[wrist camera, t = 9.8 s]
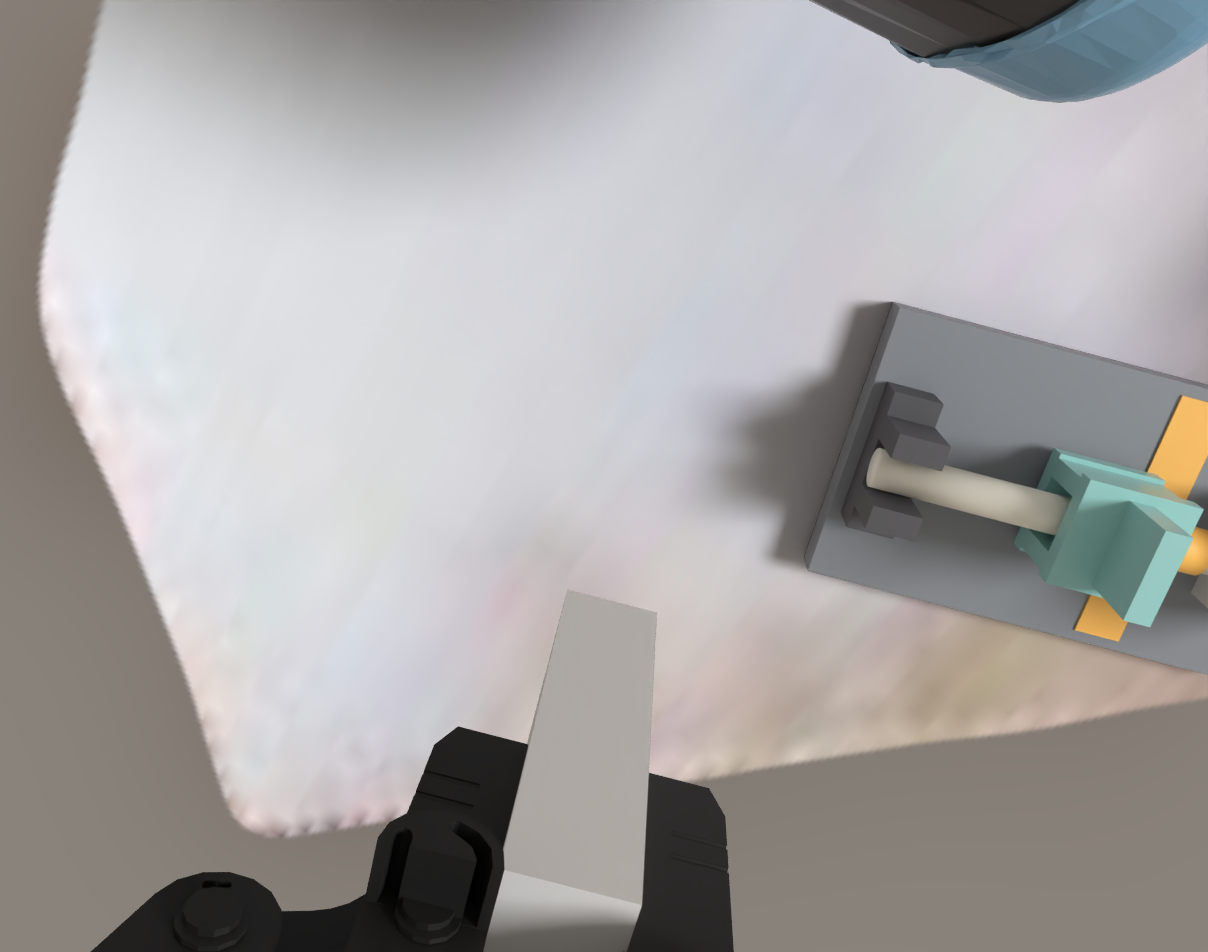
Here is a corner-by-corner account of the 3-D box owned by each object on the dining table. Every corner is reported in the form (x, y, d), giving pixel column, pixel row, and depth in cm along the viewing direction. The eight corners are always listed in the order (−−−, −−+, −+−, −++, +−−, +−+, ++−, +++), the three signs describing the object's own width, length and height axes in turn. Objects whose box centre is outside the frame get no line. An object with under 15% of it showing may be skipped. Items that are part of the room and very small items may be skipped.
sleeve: (1053, 447, 42) (1123, 508, 35) (1156, 474, 42) (1245, 540, 35) (1013, 543, 43) (1073, 618, 37) (1113, 569, 43) (1190, 648, 37)
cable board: (892, 301, 42) (932, 335, 36) (1353, 423, 43) (1479, 479, 36) (804, 557, 46) (824, 630, 40) (1225, 667, 47) (1317, 758, 40)
